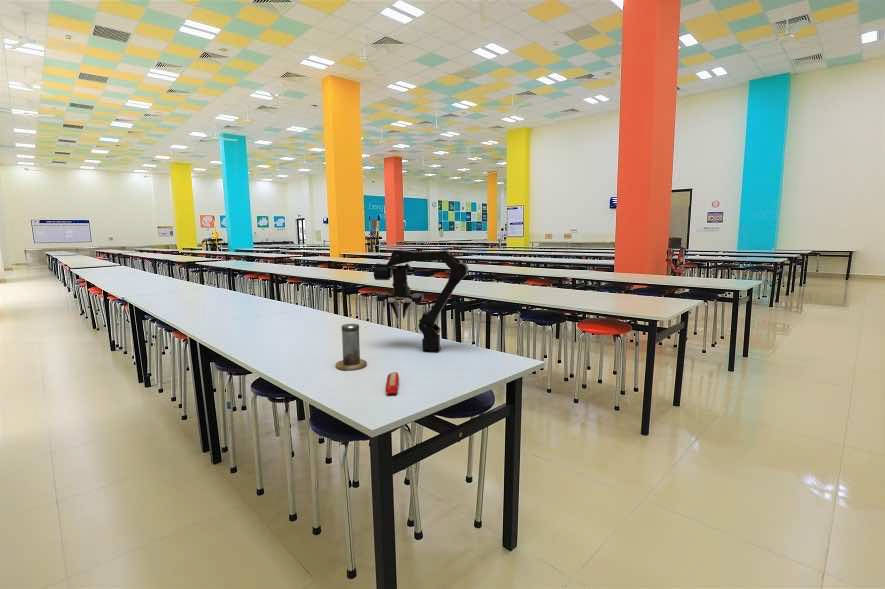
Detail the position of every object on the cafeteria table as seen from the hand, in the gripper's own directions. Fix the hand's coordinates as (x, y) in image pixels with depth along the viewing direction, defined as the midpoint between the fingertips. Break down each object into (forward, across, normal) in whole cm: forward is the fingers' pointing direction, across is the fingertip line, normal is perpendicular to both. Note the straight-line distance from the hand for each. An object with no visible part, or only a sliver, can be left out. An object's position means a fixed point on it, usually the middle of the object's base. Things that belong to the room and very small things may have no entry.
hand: (400, 318), depth 176 cm
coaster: (+13, +12, +25) cm, 31 cm away
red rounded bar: (+14, -9, +43) cm, 46 cm away
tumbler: (+12, +12, +25) cm, 30 cm away
